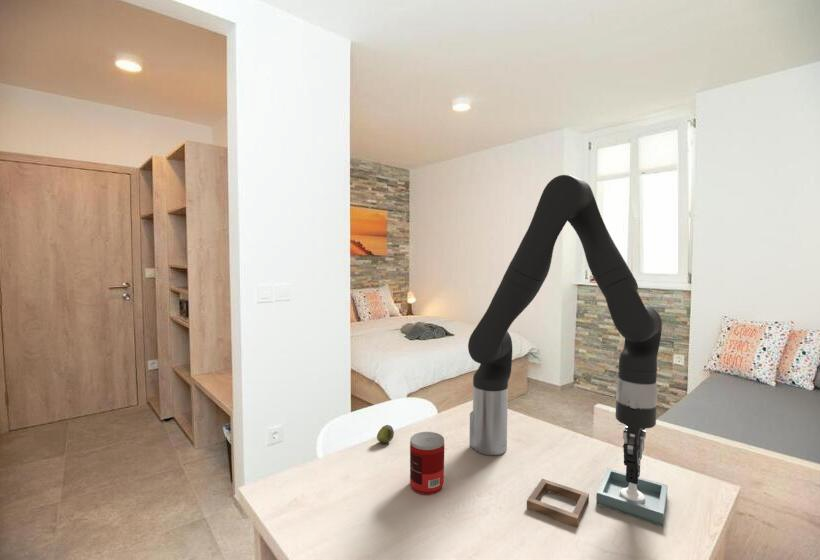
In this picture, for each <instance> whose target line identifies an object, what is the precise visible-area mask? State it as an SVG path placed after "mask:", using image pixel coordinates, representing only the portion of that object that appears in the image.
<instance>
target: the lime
mask: <svg viewBox="0 0 820 560" xmlns="http://www.w3.org/2000/svg"><path fill="white" fill-rule="evenodd" d="M394 437H395V431H394V427H392V426H391V425H389V424H385V425H383V426H382V427H381V428H380V429H379V430H378V432H377V435H376V440H377V441H378V442H379V443H382V444H387V443H389V442H391V441H392V440H393V438H394Z"/></svg>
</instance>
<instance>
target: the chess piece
mask: <svg viewBox="0 0 820 560" xmlns="http://www.w3.org/2000/svg"><path fill="white" fill-rule="evenodd" d="M638 475H639V472H638ZM619 495H620V497H621V498H624V499H627V500H630V501H633V502H637V503H640V504H643V503H645V496H644V495H643V494H642V493H641V492H640V491H638V490H637V485H636V484H633V483H630V482H629V486H628V487H627V488H622V489H621V490H620V493H619Z"/></svg>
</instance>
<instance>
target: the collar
mask: <svg viewBox="0 0 820 560" xmlns="http://www.w3.org/2000/svg"><path fill="white" fill-rule="evenodd" d="M545 492H549V493H551V494H555V495H558V496H560V497H564V498H567V499H569V500H572V501H575V502H577V503H576V505H575V507H574V509H573V511H572V512H571V511H568V510H565V509H563V508H561V507H557V506H554V505H551V504H549V503H546V502H543V501H541V499H542V497H544V496H543V495H544V494H545ZM589 496H590V493H587V492H585V491H582V490H579V489H576V488H573V487H569V486H566V485H563V484H560V483H557V482H554V481H551V480H548V479H544V478H541V479H540V481H539V482H538V483H537V485H536V487H535V488H534V489H533V491H532V492H531V494H530V495H529V497H528V498H527V499H526V509H527V510H530V511H533V512H535V513H537V514H540V515H543V516H546V517H548V518H550V519H553V520H557V521H558V522H560V523H561V522H562V523H564V524H567V525H570V526H572V527H575V528H578V527H579V525H580V522H581V521H582V517H583V515H584V513H585V511H586V509H587V507H588V505H589V502H590V497H589Z"/></svg>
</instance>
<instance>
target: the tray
mask: <svg viewBox="0 0 820 560" xmlns="http://www.w3.org/2000/svg"><path fill="white" fill-rule="evenodd" d="M636 485H637V490H638V491H640V492H641V493H642V494H643V495H644V496H645V503H643V504H640V503H637V502H633V501H630V500H627V499H624V498H621V497H620V495H619V493H620V490H621V489H622V488H627V487H628V486H629V482H627V481H626V472H623V471H619V470H616V469H612V468H609V467H607V468H606V471H605V472H604V475H603V477H602V480H601V481H600V484H599V487H598V489H597V491H596V503H595V504H596V505H598V506H600V507H604V508H606V509H609V510H612V511H616V512H619V513H622V514H625V515H626V516H631V517H632V518H633V517H634V518H636V519H639V520H642V521H645V522H648V523H651V524H654V525H657V526H660V527H664V521H665V514H666V508H667V507H666V505H667V499H668V487H669V486H668V484H666V483H662V482H658V481H654V480H651V479H648V478H644V477H641V476H639V477H638V483H637V484H636Z"/></svg>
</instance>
